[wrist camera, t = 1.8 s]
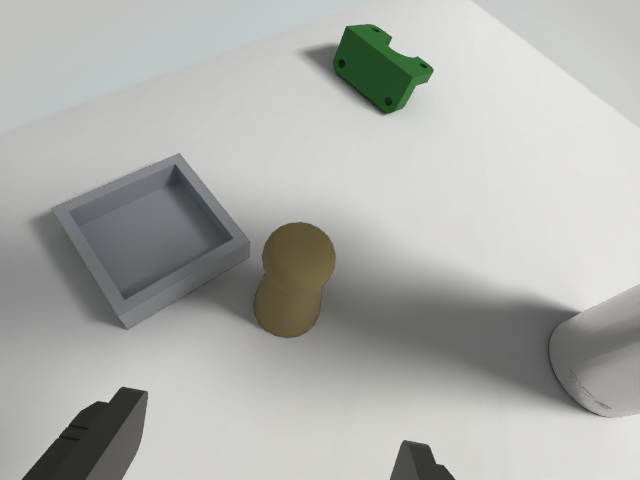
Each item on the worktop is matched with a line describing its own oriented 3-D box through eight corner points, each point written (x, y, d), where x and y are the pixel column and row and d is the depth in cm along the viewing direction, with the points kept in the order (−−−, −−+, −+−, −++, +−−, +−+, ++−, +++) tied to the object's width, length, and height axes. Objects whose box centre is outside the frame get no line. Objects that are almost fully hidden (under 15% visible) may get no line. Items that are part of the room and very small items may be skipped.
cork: (255, 273, 38) (259, 206, 29) (319, 276, 39) (342, 211, 30) (251, 337, 35) (254, 285, 26) (321, 338, 36) (348, 288, 27)
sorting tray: (183, 172, 42) (179, 153, 40) (249, 256, 39) (249, 240, 36) (64, 226, 37) (51, 208, 35) (127, 329, 34) (118, 317, 31)
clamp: (393, 121, 58) (444, 83, 51) (368, 130, 54) (420, 90, 47) (351, 46, 58) (397, -2, 51) (324, 51, 54) (369, -1, 47)
